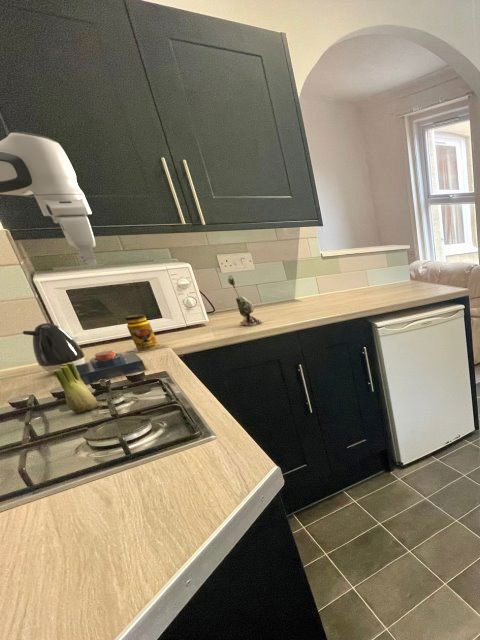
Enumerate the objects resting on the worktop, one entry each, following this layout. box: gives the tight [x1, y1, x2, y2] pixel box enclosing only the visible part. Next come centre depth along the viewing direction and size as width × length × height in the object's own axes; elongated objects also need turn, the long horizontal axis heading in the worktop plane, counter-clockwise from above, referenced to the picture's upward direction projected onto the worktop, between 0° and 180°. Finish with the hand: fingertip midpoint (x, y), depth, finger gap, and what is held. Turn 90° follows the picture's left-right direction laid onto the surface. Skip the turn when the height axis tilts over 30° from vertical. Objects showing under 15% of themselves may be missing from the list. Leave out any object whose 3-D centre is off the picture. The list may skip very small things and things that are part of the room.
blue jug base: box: [75, 352, 147, 386], centre depth 126 cm, size 14×12×5 cm
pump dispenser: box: [22, 322, 85, 375], centre depth 127 cm, size 10×10×15 cm
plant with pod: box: [227, 274, 262, 327], centre depth 169 cm, size 8×11×20 cm
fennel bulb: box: [53, 363, 99, 414], centre depth 101 cm, size 6×5×12 cm
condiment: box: [124, 313, 164, 353], centre depth 146 cm, size 7×8×12 cm
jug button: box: [94, 350, 116, 360], centre depth 125 cm, size 4×4×2 cm
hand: (90, 264), depth 110 cm, fingers open, 8 cm apart
